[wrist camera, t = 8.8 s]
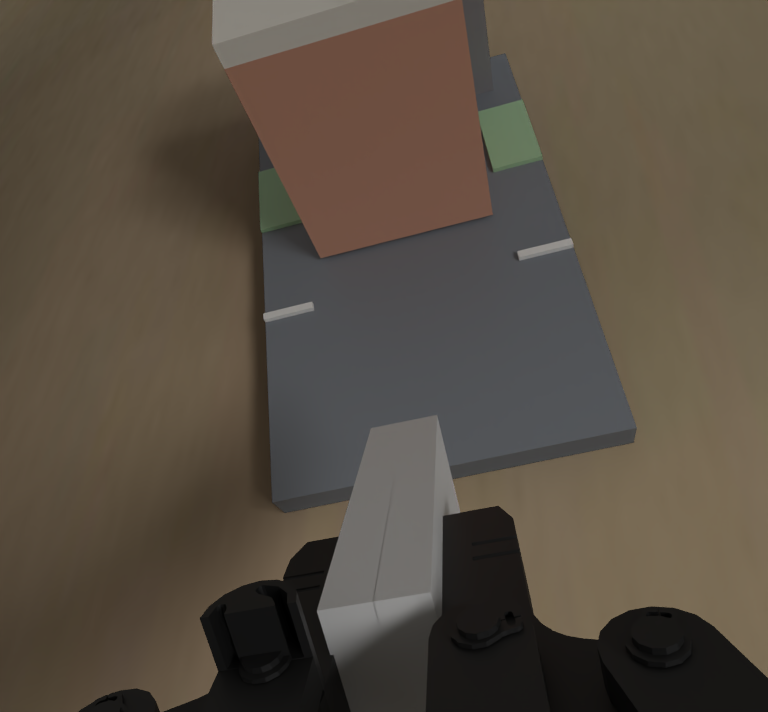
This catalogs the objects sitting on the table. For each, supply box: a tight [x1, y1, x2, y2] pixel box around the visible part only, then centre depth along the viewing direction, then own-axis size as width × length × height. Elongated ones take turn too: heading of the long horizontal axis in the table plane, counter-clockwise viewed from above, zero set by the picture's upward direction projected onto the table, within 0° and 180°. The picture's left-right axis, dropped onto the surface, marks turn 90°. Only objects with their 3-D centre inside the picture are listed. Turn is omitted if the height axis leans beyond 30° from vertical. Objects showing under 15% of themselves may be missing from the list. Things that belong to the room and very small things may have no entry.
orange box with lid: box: [212, 0, 493, 258], centre depth 24 cm, size 7×5×10 cm
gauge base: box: [258, 0, 637, 513], centre depth 25 cm, size 12×19×7 cm, turn 7°
